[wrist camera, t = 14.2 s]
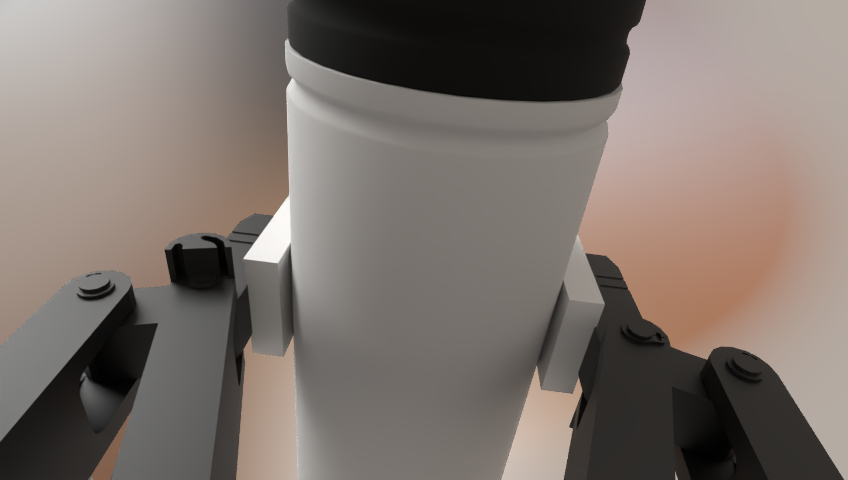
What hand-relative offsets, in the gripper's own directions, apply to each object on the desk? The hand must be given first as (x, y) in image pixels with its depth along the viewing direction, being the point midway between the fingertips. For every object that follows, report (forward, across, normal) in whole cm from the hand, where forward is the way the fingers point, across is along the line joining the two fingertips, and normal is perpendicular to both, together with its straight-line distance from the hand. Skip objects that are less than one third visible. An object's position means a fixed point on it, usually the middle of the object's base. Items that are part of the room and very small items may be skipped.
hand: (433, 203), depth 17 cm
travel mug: (-5, 0, -11) cm, 12 cm away
